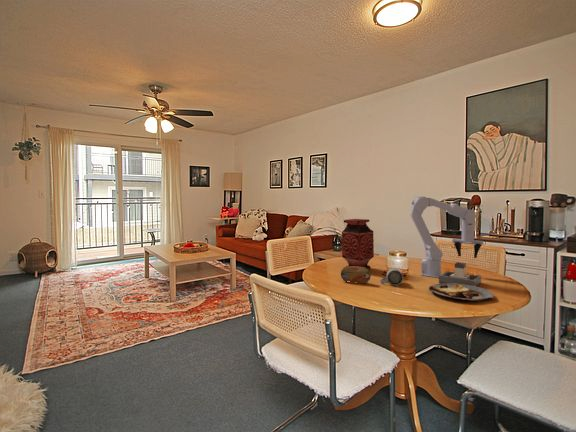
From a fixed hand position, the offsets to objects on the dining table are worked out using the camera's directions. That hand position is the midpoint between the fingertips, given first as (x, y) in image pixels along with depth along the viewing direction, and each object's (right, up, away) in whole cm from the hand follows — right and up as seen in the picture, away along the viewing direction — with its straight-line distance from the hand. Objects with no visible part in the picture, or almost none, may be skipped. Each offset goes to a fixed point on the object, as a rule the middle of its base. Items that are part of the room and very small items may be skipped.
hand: (467, 257), depth 171 cm
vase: (-54, -10, +22) cm, 59 cm away
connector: (-11, -11, -12) cm, 19 cm away
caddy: (-11, -11, -12) cm, 20 cm away
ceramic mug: (-45, -12, -11) cm, 47 cm away
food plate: (-21, -13, -31) cm, 39 cm away
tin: (-62, -12, -8) cm, 64 cm away
